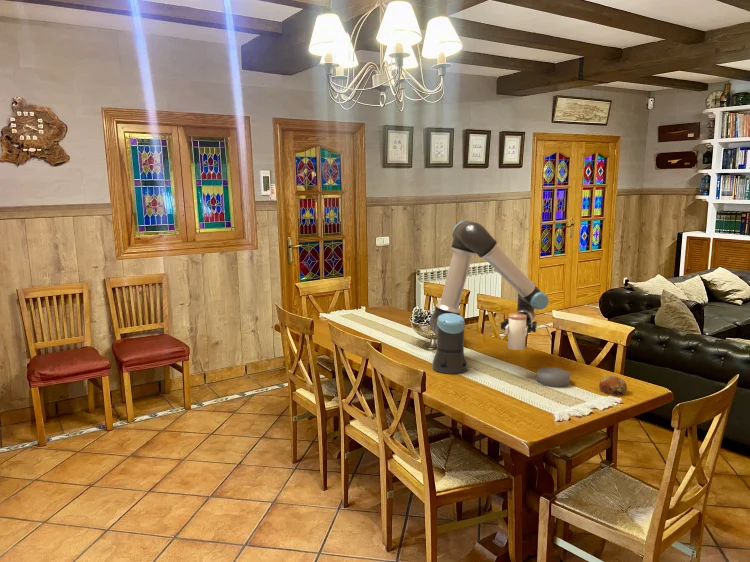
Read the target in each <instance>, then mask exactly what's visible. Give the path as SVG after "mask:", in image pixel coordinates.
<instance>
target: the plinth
mask: <svg viewBox="0 0 750 562" xmlns="http://www.w3.org/2000/svg"><path fill="white" fill-rule="evenodd" d="M536 382H537V383H538V384H540V385H543V386H546V387H550V388H565V387H568V386H569V384H570V383H571V372H570V371H567V370H565V369H563V368H558V367H549V366H547V367H540V368H538V369H537V370H536Z"/></svg>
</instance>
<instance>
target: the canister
mask: <svg viewBox="0 0 750 562" xmlns="http://www.w3.org/2000/svg"><path fill="white" fill-rule="evenodd" d="M508 319H509V331H508V333H507V335H508V337H507V348H508V349H509V350H513V351H514V350H515V351H523V350H525V349H526V337H527V335H526V336H524V330H525V328H526V319H527V315H526V314H522V313H517V312H511V313H508Z"/></svg>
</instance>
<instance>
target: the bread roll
mask: <svg viewBox="0 0 750 562" xmlns="http://www.w3.org/2000/svg"><path fill="white" fill-rule="evenodd" d="M598 385H599V388H598V389H599V391H600V392H601V391H602V392H601V393H603V392H604V393H603V394H605V393H607V394H606V395H609V394H611V395H610V396H617V395H618V396H622V395H621V394H623V395H624V394H625V393H627V391H628V388H627V383H626V381H625V380H624V379H623V378H621V377H619V376H617V375H606V376H605V377H602V379H600V380H599V383H598Z"/></svg>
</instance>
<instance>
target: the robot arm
mask: <svg viewBox="0 0 750 562" xmlns="http://www.w3.org/2000/svg"><path fill="white" fill-rule="evenodd" d="M451 250H452V256H451V261H450V262H449V263H450V264H449V267H448V271H447V272H448V273H447V276H446V278H445V281H444V282H445V283H444V287H443V290H442V295H441V298H440V302H439V303H437V304H436V305H435V307H434V311H433V312H432V314H431V315H430V316H431V317H430V326H431V329H432V331H433V332H434V333H435V334H436V336H437V337H436V352H435V354H434V358H433V360H432V363H431V364H432V365H431V367H432V370H434V371H435V372H437V373H441V374H452V375H454V374H463V373H465V372H467V371H468V361H467V359H466V356H465V349H464V348H465V347H464V346H465V329H466V324H465V318H464V317H463V316H461V312H462V311H461V310H460V308H459V306H460V304H461V301H462V300H461V299H462V295H463V291H464V288H465V283H466V281H467V276H468V273H469V269H470V266H471V262H472V258H473V257H474V256H475V255H477V256H478V257H479V258H482V259H484V260H485V261H486V262H487V263H488V264H489V265H490V266H491V267H493V269H494V270H495V271H496V272H497V273H498V274H499V275H500V276H501V277H502V278H503V279H504V280H505V281H506V282H507V283H508V284H509V286H511V287H512V288H513V289H514V290H515V291H516V293H517V306H516V307H517V308H516V313H522V314H526V315H527V319H526V328H525V330H524V336H526V337H527V335H528V333H529V334H530V333H531V332H532V333H536V331H537V327H538V321H536V320H535V321H533V320H534V319H535V315H536V313H535V310H544V309H546V308H547V306H548V305H549V297H548V295H547V294H546V293H545V292H542V290H540V289H539V287H537V286H536V283H535V282H534V281H531V279H530V278H529V277H528V276H527V275H526V274H525V273H524V272H523V271H522V270H521V269H520V268H519V266H517V265H516V264H515V262H513V261H512V259H510V257H508V255H507V254H506V253H505V252H504V251H503V250H502V249H501V248H500V247H499V246H498V242H497V240H496V239H495V238H494V236H492V235H491V234H490V232H489V231H488V230H487V229H486V228H485V227H484V226H483V225H482V224H480V223H479V222H476V221H472V220H462V221H459V222H458V223H457V224H456V225H455V227H454V228H453V230H452V243H451ZM500 329H501V330H503V331H504V335H508V331H509V318H504V320H503V321H502V322H500ZM466 370H467V371H466Z"/></svg>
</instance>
